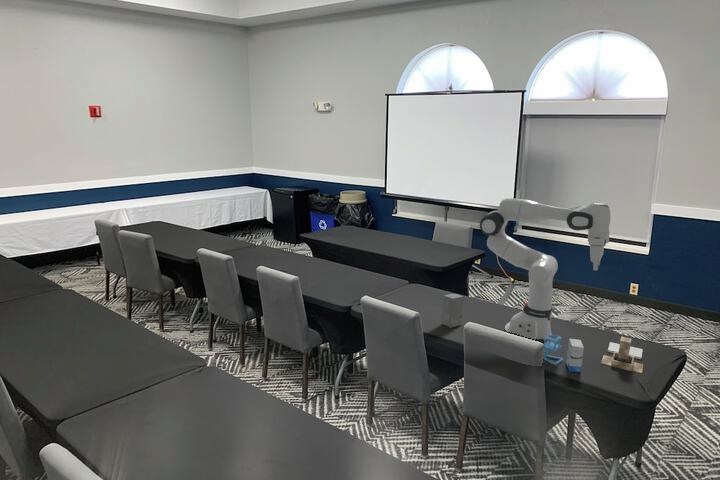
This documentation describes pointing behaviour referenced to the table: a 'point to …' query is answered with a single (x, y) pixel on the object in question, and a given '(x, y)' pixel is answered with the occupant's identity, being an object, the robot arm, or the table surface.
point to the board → (633, 352)
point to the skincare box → (452, 310)
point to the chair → (552, 348)
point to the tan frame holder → (622, 363)
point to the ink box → (575, 355)
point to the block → (624, 349)
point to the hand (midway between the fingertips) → (596, 267)
